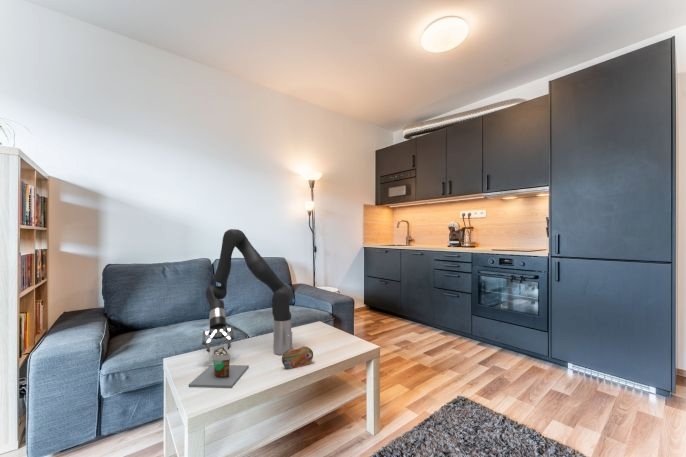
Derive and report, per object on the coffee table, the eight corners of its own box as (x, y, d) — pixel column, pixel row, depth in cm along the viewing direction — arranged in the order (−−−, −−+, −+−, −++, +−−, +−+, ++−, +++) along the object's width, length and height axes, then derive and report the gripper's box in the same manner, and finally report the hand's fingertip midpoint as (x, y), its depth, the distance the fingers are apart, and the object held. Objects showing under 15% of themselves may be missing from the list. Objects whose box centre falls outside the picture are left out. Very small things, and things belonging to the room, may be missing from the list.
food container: (209, 370, 130) (209, 348, 130) (223, 367, 133) (224, 345, 133) (214, 382, 119) (214, 358, 120) (229, 378, 123) (229, 354, 123)
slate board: (248, 367, 135) (248, 365, 135) (231, 388, 117) (231, 385, 117) (211, 366, 136) (211, 364, 136) (188, 386, 118) (188, 384, 118)
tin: (282, 370, 132) (282, 352, 132) (280, 368, 134) (280, 349, 135) (313, 363, 139) (313, 346, 139) (311, 361, 141) (311, 344, 142)
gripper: (202, 317, 141) (202, 349, 131) (233, 313, 148) (235, 343, 137) (201, 325, 146) (202, 356, 135) (231, 321, 152) (234, 350, 142)
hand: (219, 350), depth 136 cm, fingers open, 8 cm apart
